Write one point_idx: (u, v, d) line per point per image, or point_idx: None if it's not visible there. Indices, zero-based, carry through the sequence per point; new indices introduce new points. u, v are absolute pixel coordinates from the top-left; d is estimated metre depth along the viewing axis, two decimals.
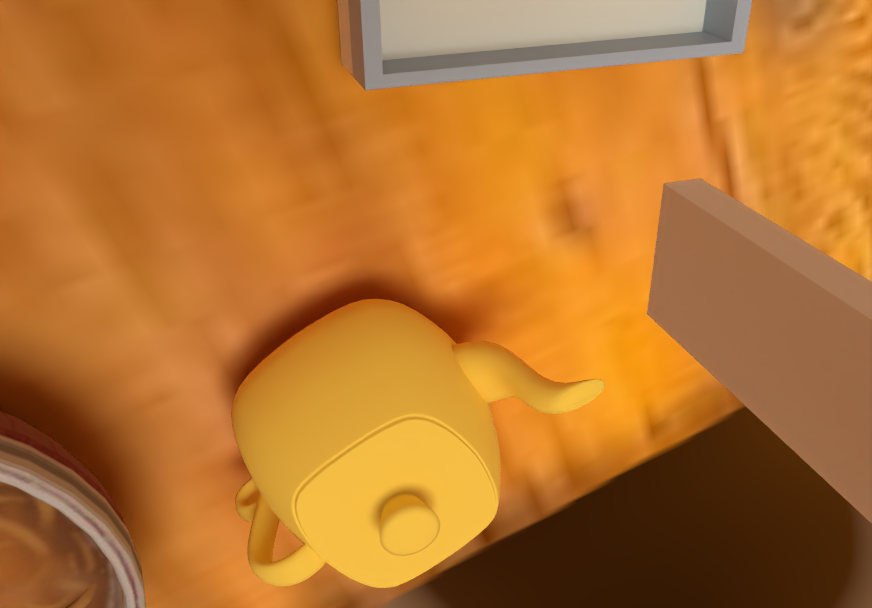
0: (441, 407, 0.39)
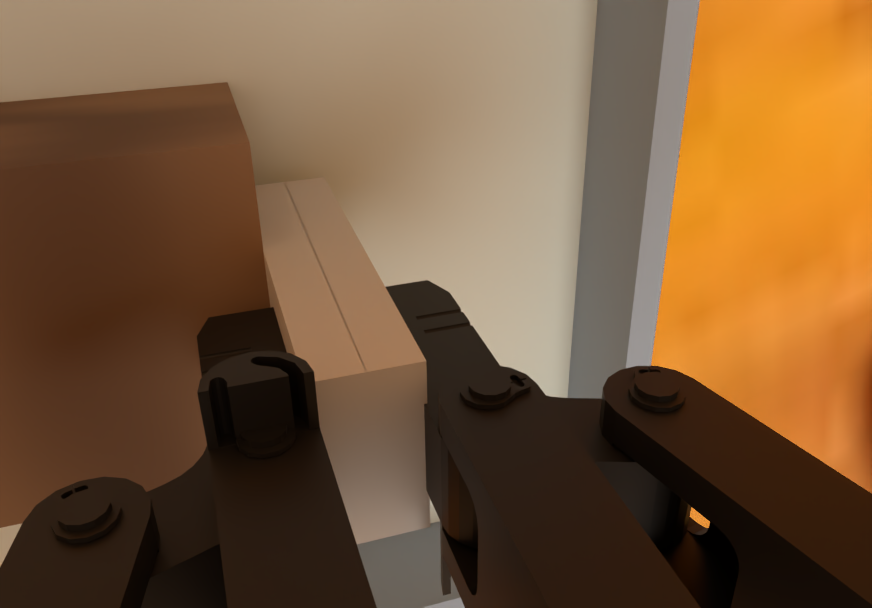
0: None
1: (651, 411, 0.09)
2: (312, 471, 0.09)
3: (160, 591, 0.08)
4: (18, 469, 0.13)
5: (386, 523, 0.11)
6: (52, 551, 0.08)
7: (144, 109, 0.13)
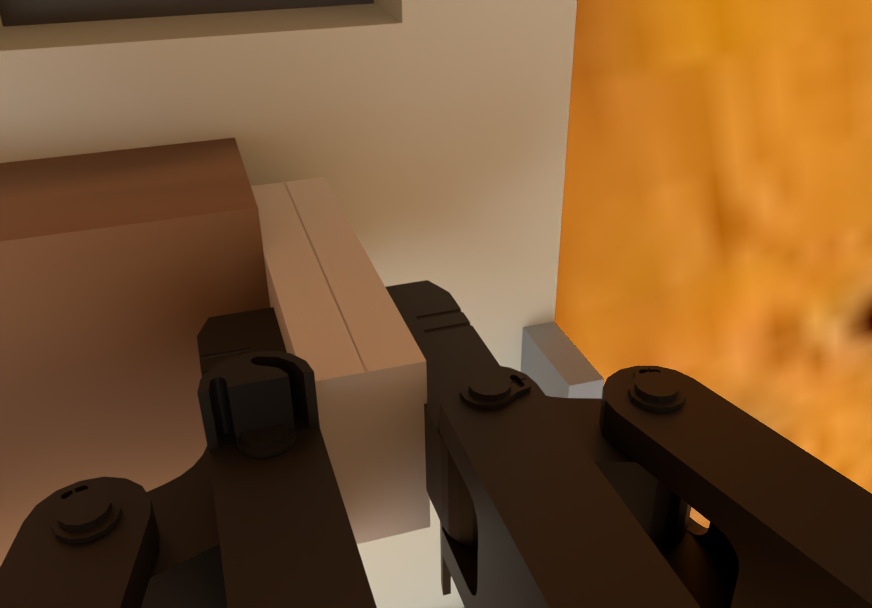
0: None
1: (651, 411, 0.09)
2: (312, 471, 0.09)
3: (160, 591, 0.08)
4: None
5: (386, 523, 0.11)
6: (52, 551, 0.08)
7: None
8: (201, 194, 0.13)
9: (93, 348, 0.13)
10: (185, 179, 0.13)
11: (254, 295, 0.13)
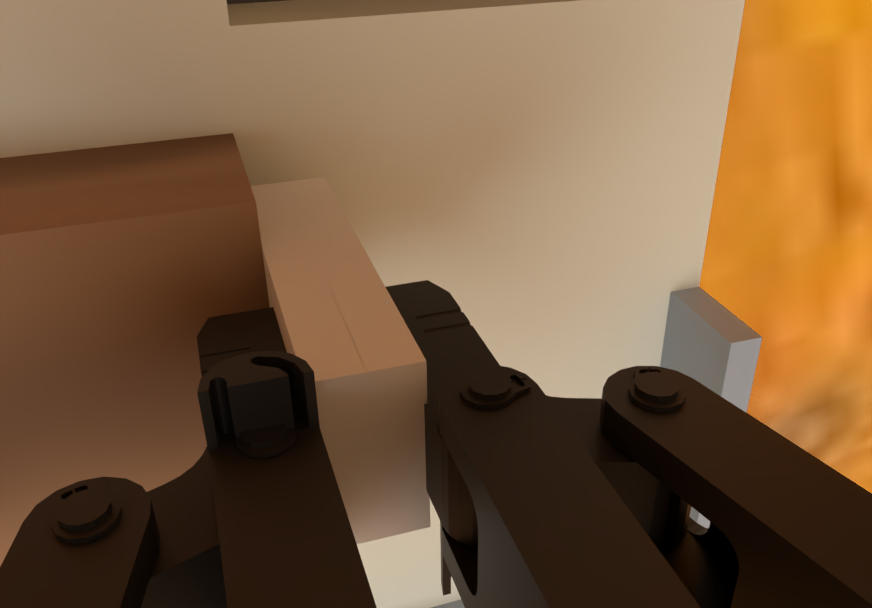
0: None
1: (650, 411, 0.09)
2: (312, 471, 0.09)
3: (160, 591, 0.08)
4: None
5: (386, 523, 0.11)
6: (52, 551, 0.08)
7: None
8: (200, 189, 0.13)
9: (93, 341, 0.13)
10: (184, 174, 0.14)
11: (252, 290, 0.13)
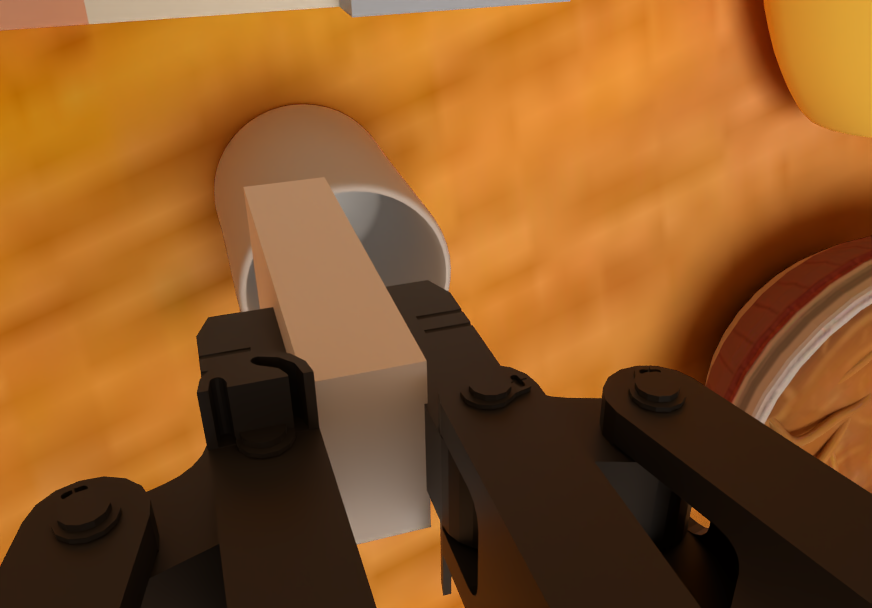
0: None
1: (651, 412, 0.09)
2: (312, 471, 0.09)
3: (160, 591, 0.08)
4: None
5: (387, 523, 0.11)
6: (52, 551, 0.08)
7: None
8: None
9: None
10: None
11: None
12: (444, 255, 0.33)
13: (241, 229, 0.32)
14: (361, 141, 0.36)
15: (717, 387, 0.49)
